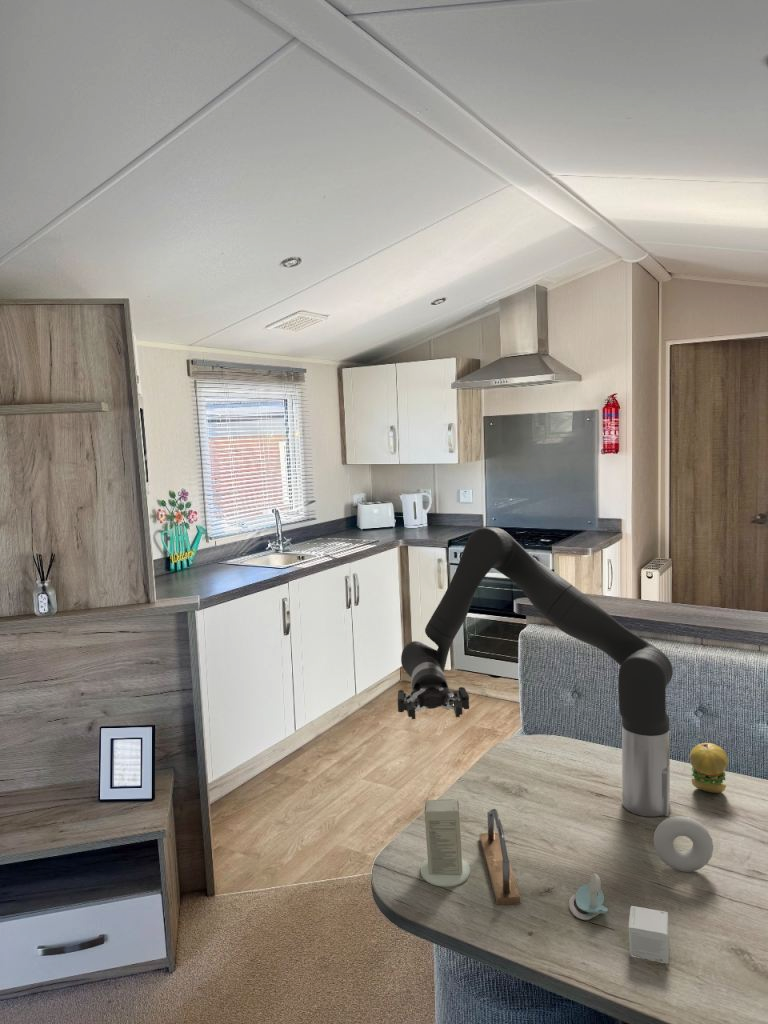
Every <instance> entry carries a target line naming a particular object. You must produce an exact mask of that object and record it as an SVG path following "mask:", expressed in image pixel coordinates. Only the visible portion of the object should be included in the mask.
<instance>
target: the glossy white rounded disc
mask: <svg viewBox="0 0 768 1024" xmlns="http://www.w3.org/2000/svg"><path fill="white" fill-rule="evenodd" d="M420 875H421V877H422V879H423V880H424V881H425V882H427V883H428V884H431V885H432V886H437V887H443V888H452V887H456V886H459V885H461V884H463V883H465V882H466V881H467V880H468V879H469V878H470V876H471V866H470V865H469V863H468V862H467V861H466V860H465V859H463V858H462V874H443V875H430V874H429V870H428V858H426V859H425V860H424V861H423V862H422V864H421V865H420Z"/></svg>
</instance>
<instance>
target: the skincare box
mask: <svg viewBox="0 0 768 1024" xmlns="http://www.w3.org/2000/svg"><path fill="white" fill-rule="evenodd" d="M459 805H460V803H459V799H426V800H425V802H424V821H425V824H424V825H425V836H426V852H427V853H426V854H427V859H428V870H429V874H430V875H443V874H462V859H463V857H462V856H463V855H462V854H463V852H462V851H463V850H462V836H461V835H462V833H461V821H460V820H461V818H460V807H459Z"/></svg>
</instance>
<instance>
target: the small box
mask: <svg viewBox="0 0 768 1024" xmlns="http://www.w3.org/2000/svg"><path fill="white" fill-rule="evenodd" d="M669 929H670V928H669V912H667V911H663V910H658V909H651V908H646V907H641V906H635V905H631V906H630V908H629V917H628V951H629V952H628V953H629V954H630V955H633V956H636V957H639V958H638V959H640V958H645V959H648V960H647V961H650V960H654V961H657V962H656V963H659V962H663V963H662V964H664V963H667V964H666V965H668V964H669V958H670V956H669V955H670V954H669V953H670V931H669ZM630 955H629V956H630ZM645 959H644V960H645ZM654 961H653V962H654Z"/></svg>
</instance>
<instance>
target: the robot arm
mask: <svg viewBox="0 0 768 1024" xmlns="http://www.w3.org/2000/svg"><path fill="white" fill-rule="evenodd" d="M492 569H494V570H496V571H498V572H499V573H501V574H502V575H503V576H505V577H506V578H507V579H509V580H511V581H512V582H513V583H514V585H516V586H518V588H519V589H520V590H521V591H522V592H523V594H524V595H525V596H526V598H527V599H528V601H529V602H530V603H531V604H532V606H534V608H535V609H536V610H537V612H539V613H540V614H541V615H542V616H543V617H544V618H545V619H546V620H548V621H549V622H550V623H551V624H552V625H554V626H555V627H556V628H557V629H559V631H562V632H563V633H564V634H566V635H568V636H570V637H571V638H574V639H576V640H577V641H578V640H579V641H581V642H582V643H585V644H588V645H590V646H592V647H595V648H597V649H598V650H601V651H602V652H603V653H605V654H606V655H607V656H609V657H610V658H611V659H612V660H613V661H615V662H616V663H617V664H618V665H619V666H620V667H619V670H618V677H617V678H618V679H617V682H618V683H617V688H618V711H619V714H620V717H621V738H622V739H621V751H622V752H621V753H622V754H621V756H622V757H621V759H622V760H621V761H622V763H621V765H622V766H621V773H622V776H621V777H622V778H621V779H622V780H621V782H622V787H621V788H622V789H621V790H622V791H621V792H622V793H621V795H622V796H621V797H622V800H621V801H622V806H623V807H624V808H625V810H628V812H631V813H632V814H635V815H638V816H642V817H643V816H644V817H653V818H654V817H660V816H665V817H668V816H669V813H670V803H671V801H670V800H671V798H670V797H671V760H670V716H669V715H668V714H667V710H666V709H667V707H666V705H667V703H666V701H667V700H666V698H667V696H666V693H667V692H666V689H667V686H668V685H669V684H670V682H671V680H672V678H673V675H674V674H673V673H674V672H673V671H674V669H673V665H672V663H671V660H670V659H669V657H668V656H667V655H666V654H665V653H664V652H663V651H662V650H660V649H659V648H658V647H656V646H655V645H653V644H651V643H650V642H648V641H647V640H645V639H643V638H642V637H640V636H639V635H637V634H636V633H634V632H633V631H631V630H629V629H628V628H626V627H625V626H624V625H623V624H621V623H620V622H618V621H617V620H616V619H615V618H614V617H613V616H611V615H610V614H609V613H608V612H607V611H605V610H604V609H602V608H601V607H600V606H599V605H598V604H596V603H595V602H594V601H593V600H592V599H590V598H589V597H588V596H587V595H586V594H585V593H583V592H582V591H580V590H579V589H578V588H576V587H575V586H574V585H573V584H572V583H570V582H568V581H567V580H566V579H564V578H563V577H562V576H560V575H559V574H557V573H556V572H555V571H553V570H552V569H550V568H549V567H548V566H546V565H544V564H543V563H541V562H540V561H538V560H537V559H536V558H535V557H534V556H532V555H531V554H530V553H529V552H528V551H527V550H526V549H525V548H524V547H523V546H522V545H521V544H520V543H519V542H517V540H516V539H515V538H514V537H513V536H512V535H511V534H509V533H508V532H507V531H506V530H504V529H503V528H500V527H496V526H493V527H492V526H484V527H480V528H477V529H475V530H473V532H472V533H471V534H470V535H469V536H468V538H467V540H466V543H465V545H464V547H463V550H462V553H461V556H460V559H459V561H458V565H457V567H456V569H455V572H454V574H453V577H452V578H451V581H450V583H449V584H448V586H447V588H446V591H445V592H444V594H443V597H442V598H441V599H440V601H439V603H438V605H437V607H436V608H435V610H434V612H433V613H432V615H431V617H430V619H429V621H428V622H427V623H426V626H425V628H424V633H425V635H426V637H427V638H428V639H430V640H431V641H432V642H433V643H434V644H435V645H436V646H437V648H436V649H435V648H433V647H431V646H429V645H427V644H424V643H423V642H421V641H418V640H417V641H416V640H413V641H411V642H408V643H407V644H406V645H405V646H404V648H403V649H402V652H401V655H400V662H401V663H400V664H401V667H402V668H403V670H404V672H405V673H406V674H407V675H408V676H409V677H410V678H411V679H410V684H411V685H410V689H411V693H407V692H406V691H405V690H404V689H398V690H397V712H399V713H404V712H405V711H406V712H407V713H406V714H407V716H408V717H409V718H411V720H416V712H420V711H421V710H423V709H429V710H430V709H431V710H432V709H437V708H443V709H445V710H449V711H450V710H453V712H454V716H455V718H460V717H461V715H463V709H464V710H469V709H470V696H469V694H468V692H467V690H466V687H464V686H460V687H458V689H457V690H456V691H452V690H451V689H450V688H449V686H448V682H447V678H446V676H445V673H444V671H445V668H446V663H447V659H448V655H449V652H450V649H451V647H452V643H453V641H454V639H455V638H456V635H457V634H458V632H459V631H460V629H461V627H462V626H463V625H464V624H463V623H464V622H465V620H466V618H467V616H468V613H469V610H470V607H471V605H472V601H473V599H474V595H475V594H476V591H477V589H478V588H479V586H480V584H481V583H482V581H483V580H484V578H485V577H486V576H487V575H488V573H489V572H490V571H491V570H492Z"/></svg>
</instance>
